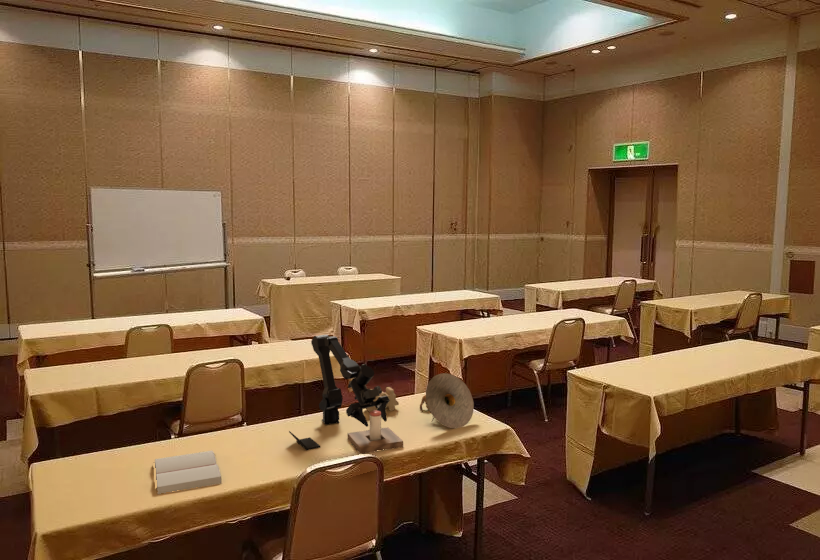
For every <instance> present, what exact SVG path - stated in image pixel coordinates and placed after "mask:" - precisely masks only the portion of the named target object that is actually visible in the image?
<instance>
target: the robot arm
mask: <svg viewBox="0 0 820 560" xmlns="http://www.w3.org/2000/svg"><path fill="white" fill-rule="evenodd" d="M310 344H311V346H312V349H313V352H314V353H315V354H316V355H317V357H318V359H319V365H320V366H319V367H320V371H321V376H322V381H323V386H324V389H323V390H322V391H323V392H322V394H321V396H322V397H321V398H322V399H321V401H320V402H319V404H318V408H319V410H321V411H322V419H321V421H322V423H323V424H324V425H332V424H333V425H334V424H339V423H340V411H339V409H341V408H342V405H343V394H342V390H341V388H339V387H338V386H337V385H336V381H335V376H334V371H333V366H332V361H331V356H330V352H331V354H332V355H333V357H334V358H335V360H336V362H337V363H338V364H339V366H340V367H339V368H340V369H339V372H340V374H341V376H342V377H343V378H344V380H350V381H348V384H347V385H348V386H347V387H348V389H350V388H351V390H352V391H353V394H354V400H355V401H357V402H354V403H351V404H349V406H348V407H347V408H346V411H345V412H346V413H345V414H346V416H347V417H351V418H354V419H355V420H357V421H358V422H360V423H361V425H364V426H365V427H366V428H368V427H369V422H368V420H367V418H366V416H365V414H364V411H363V410H364V409H365V408H369V407H373V406H375V407H376V408H378V409H377V411H381V420H383V421H384V423H385V422H387V407H386V405H387V404H388V402H389V401H390V400H389V398H388V396H382V397H379V398H378V399H377V400H376V401H373V400H375V399H376V396H380V395H379V394H381V393H382V391H383V390H382V388H381V386H380V385H377V386H374V387H373V388H368V386H367V385H368V384H369V383H370V381H371V380H372V379H373V378H374V375H375V370H374V369H373V368H371V366H368V365H367V364H366V363H365V364H361V365H359V364H358V363H357V362H356V361H355V360H353V359H351V358H350V357H349V355H348V354H347V352H346V351H345V350H344V347H343V346H342V345H341V343H340V342H339V338H338V337H337V336H335V335H331V336H329V335H328V334H321V335H314V336H313V337H312V339H311V343H310ZM370 389H372V390H370ZM365 410H366V409H365Z"/></svg>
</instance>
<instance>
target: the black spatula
mask: <svg viewBox="0 0 820 560" xmlns="http://www.w3.org/2000/svg"><path fill="white" fill-rule="evenodd" d="M288 433H289V434H290V435H291V436H292V437H293V438H294V439H295V440H296V443H297V444H299V445H300V446H301V447H302V448H303V449H304V450H305V451H311V450H314V449H315V450H316V449H319V448H321V445H320V444H319V443H318V442H317V441H315V440H314V439H312V437H305V438H298V437H297V435H295V434H294V433H293V432H292V431H290V430H288Z"/></svg>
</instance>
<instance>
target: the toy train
mask: <svg viewBox="0 0 820 560" xmlns="http://www.w3.org/2000/svg"><path fill="white" fill-rule="evenodd" d="M369 389H370V390H372V389H373V388H369ZM379 395H380V396H376V399H375V400H373V401H376V400H377V399H378V398H379V397H382V396H388V398H389V400H390V401H389V402H388V404H387V405H386V409H388V410H389V411H394V410H395V408H396V406H399V404H400V403H399V401H398V400H397V399H396V398H397V395H396V394H395V389H393V388H392V387H391V386H387V387H386V388H385V392H384V391H383V390H382V393H381V394H379ZM377 409H378V408H376V407H375V406H373V407H369V408H365V410H366V411H368V412H369V413H370V411H374V410H377Z"/></svg>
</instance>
